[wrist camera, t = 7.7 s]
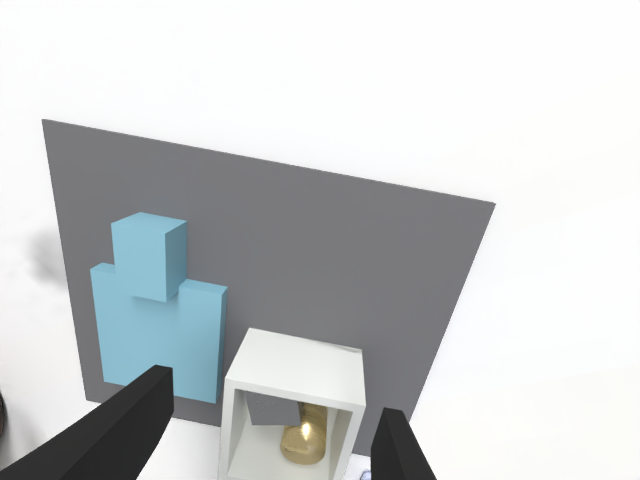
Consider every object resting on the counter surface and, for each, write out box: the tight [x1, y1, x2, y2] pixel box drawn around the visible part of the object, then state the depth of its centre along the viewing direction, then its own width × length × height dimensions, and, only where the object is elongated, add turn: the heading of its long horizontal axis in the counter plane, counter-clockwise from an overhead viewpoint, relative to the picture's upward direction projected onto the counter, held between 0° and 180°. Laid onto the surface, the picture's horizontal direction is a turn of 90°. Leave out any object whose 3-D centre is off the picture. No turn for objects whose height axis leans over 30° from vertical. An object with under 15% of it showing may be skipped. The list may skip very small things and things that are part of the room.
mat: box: [42, 119, 496, 457], centre depth 21 cm, size 22×26×1 cm
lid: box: [90, 212, 228, 404], centre depth 19 cm, size 14×9×2 cm, turn 170°
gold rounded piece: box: [280, 402, 328, 465], centre depth 21 cm, size 3×3×3 cm
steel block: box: [244, 390, 304, 426], centre depth 20 cm, size 3×3×3 cm
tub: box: [218, 328, 366, 480], centre depth 20 cm, size 9×8×4 cm
